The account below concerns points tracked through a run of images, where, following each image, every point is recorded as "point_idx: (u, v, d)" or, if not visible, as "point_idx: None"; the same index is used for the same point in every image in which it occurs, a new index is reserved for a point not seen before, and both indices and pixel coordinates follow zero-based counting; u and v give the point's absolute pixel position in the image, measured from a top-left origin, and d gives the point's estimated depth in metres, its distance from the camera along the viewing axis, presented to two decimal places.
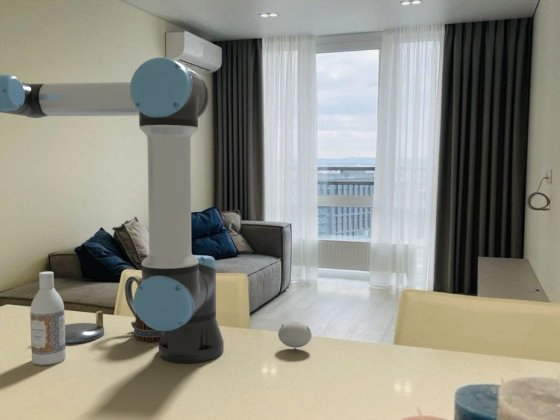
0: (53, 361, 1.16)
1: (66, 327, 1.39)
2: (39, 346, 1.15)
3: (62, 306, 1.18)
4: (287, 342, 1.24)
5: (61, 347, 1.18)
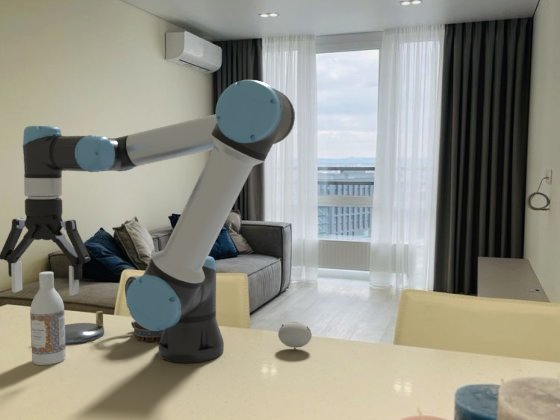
0: (53, 361, 1.16)
1: (66, 327, 1.39)
2: (39, 346, 1.15)
3: (62, 306, 1.18)
4: (287, 342, 1.24)
5: (61, 347, 1.18)
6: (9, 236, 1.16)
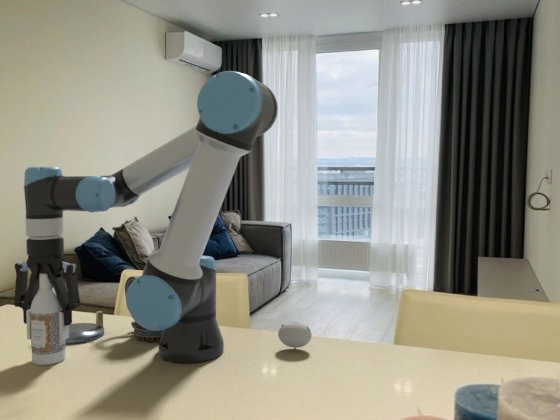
0: (53, 361, 1.16)
1: None
2: (39, 346, 1.15)
3: None
4: (287, 342, 1.24)
5: (61, 347, 1.18)
6: (17, 282, 1.17)
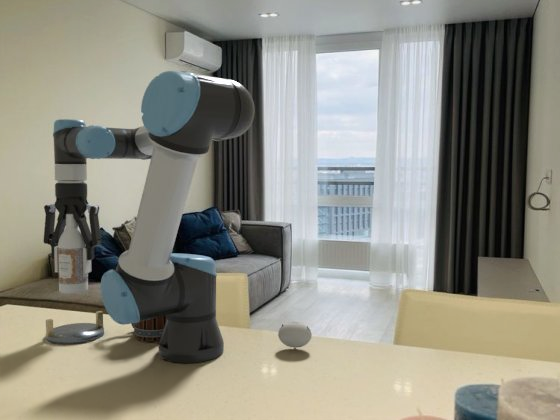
0: (78, 290, 1.32)
1: (66, 327, 1.39)
2: (65, 277, 1.31)
3: None
4: (287, 342, 1.24)
5: (85, 279, 1.34)
6: (46, 221, 1.33)
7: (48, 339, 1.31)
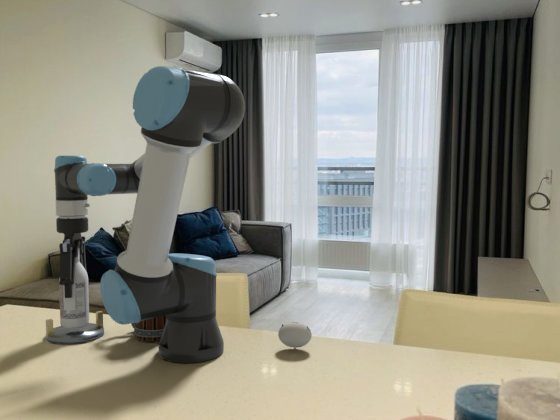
0: (62, 325, 1.33)
1: None
2: None
3: None
4: (287, 342, 1.24)
5: (69, 315, 1.32)
6: None
7: (48, 339, 1.31)
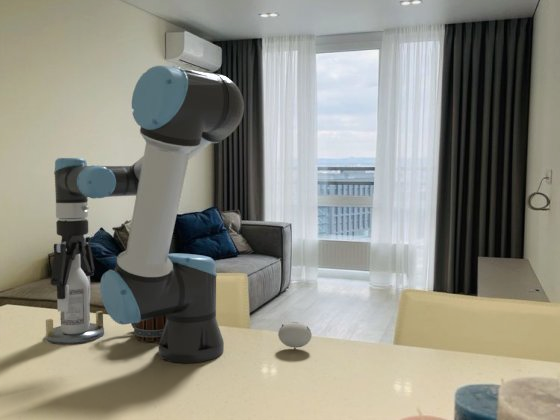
0: (61, 330, 1.33)
1: None
2: None
3: (69, 286, 1.31)
4: (287, 342, 1.24)
5: (67, 321, 1.32)
6: None
7: (48, 339, 1.31)
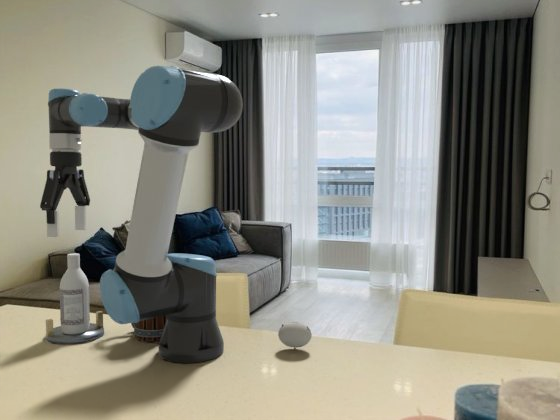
0: (61, 330, 1.33)
1: None
2: None
3: (69, 286, 1.31)
4: (287, 342, 1.24)
5: (67, 322, 1.32)
6: None
7: (48, 339, 1.31)
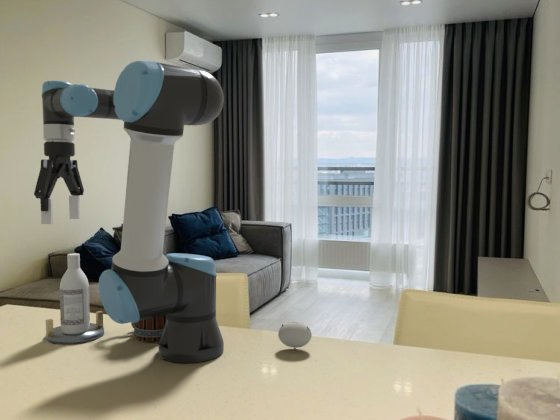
0: (61, 330, 1.33)
1: None
2: None
3: (69, 286, 1.31)
4: (287, 342, 1.24)
5: (67, 322, 1.32)
6: None
7: (48, 339, 1.31)
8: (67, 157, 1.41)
